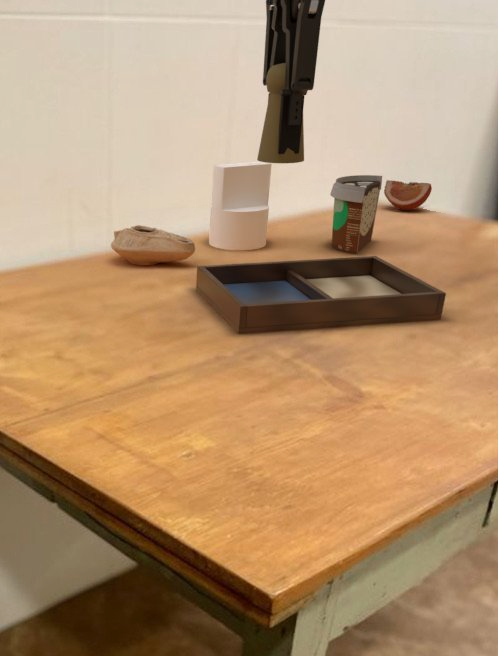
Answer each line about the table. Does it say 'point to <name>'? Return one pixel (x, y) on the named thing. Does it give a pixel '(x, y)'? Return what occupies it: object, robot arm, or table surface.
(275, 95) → the olive knobbed cone
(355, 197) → the food container
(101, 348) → the table surface
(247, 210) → the cylinder with rectangular tab
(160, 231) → the pottery oil lamp
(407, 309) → the sorting tray
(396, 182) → the fruit slice
